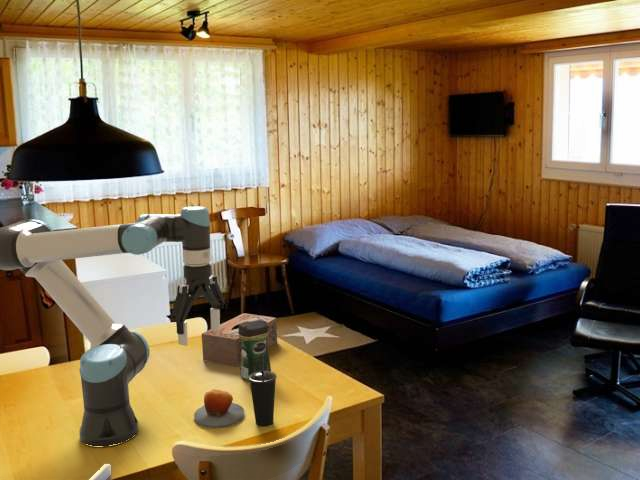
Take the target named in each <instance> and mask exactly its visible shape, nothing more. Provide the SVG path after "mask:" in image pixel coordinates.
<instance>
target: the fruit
mask: <svg viewBox="0 0 640 480" xmlns="http://www.w3.org/2000/svg"><path fill="white" fill-rule="evenodd" d="M233 401H234V397H233V395H232V394H230V393H229V392H228V391H224V390H221V389H215V388H214V389H213V388H212V389H211V390H209V391H206V392H205V394H204V397H203V404H204V405H203V406H205V409H206V412H207V415H210V414H215V415H217V416H218V417H219V418H220V415H222V414H224V413H226V412H227V411H228V409H229V408H230V406H231V404H232V403H233Z"/></svg>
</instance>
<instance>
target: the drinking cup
mask: <svg viewBox="0 0 640 480" xmlns="http://www.w3.org/2000/svg"><path fill="white" fill-rule="evenodd" d="M260 359H261V371H257V372H255V373H252V374H250V375H249V377H248V379H249V380H248V381H249V386H250V392H251V399H252V407H253V413H254V420H255V425H256V426H257V427H261V428H266V427H270V426H272V425H273V424H274V417H275V416H274V414H275V413H274V412H275V398H276V397H275V396H276V395H275V394H276V393H275V392H276V379H277V377H278V376H277V374H276V373H275V372H272V371H271V372H269V371H263V354H260Z"/></svg>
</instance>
